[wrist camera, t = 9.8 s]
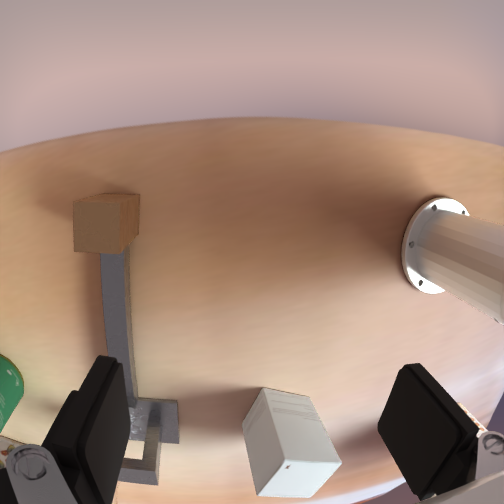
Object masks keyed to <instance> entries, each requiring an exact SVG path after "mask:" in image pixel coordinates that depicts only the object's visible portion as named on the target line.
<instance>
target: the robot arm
mask: <svg viewBox="0 0 504 504" xmlns="http://www.w3.org/2000/svg"><path fill="white" fill-rule="evenodd" d="M401 256H402V265H403V269H404V272H405V275H406V277H407V279H408V280H409V282H410V283H411V284H412V285H413V286H414V287H416V288H417V289H419V290H420V291H422V292H424V293H428V294H436V293H440V292H443V291H446V292H448V293H450V294H452V295H453V296H455V297H457V298H458V299H460V300H462V301H464V302H465V303H467V304H469V305H470V306H472V307H474V308H475V309H477V310H479V311H480V312H482V313H484V314H485V315H487V316H489V317H490V318H492V319H493V320H495V321H497V322H498V323H500V324H502V325H503V326H504V225H502V224H499V223H495V222H491V221H488V220H484V219H480V218H477V217H473V216H470V215H469V214H468V212H467V210H466V209H465V208H464V206H463V205H462V204H460V203H459V202H458V201H456V200H453V199H451V198H445V197H440V198H435V199H432V200H429V201H428V202H426V203H425V204H423V205H422V206H421V207H420V208H419V209H418V210H417V211H416V213H415V214H414V215H413V217H412V218H411V220H410V222H409V224H408V226H407V229H406V231H405V234H404V238H403V243H402V254H401ZM479 430H480V428H479V427H478V426H477V425H476V424H475V423H474V422H473V420H472V419H471V418H470V417H469V416H468V415H467V414H466V413H465V411H464V410H463V409H462V408H461V407H460V406H459V405H458V404H457V403H456V401H455V400H454V399H453V398H452V397H451V396H450V395H449V394H448V393H447V392H446V391H445V389H444V388H443V387H442V386H441V385H440V384H439V383H438V382H437V381H436V380H435V379H434V378H433V376H432V375H431V374H430V373H429V372H428V371H427V370H426V369H425V368H424V367H423V366H422V365H421V364H420V363H415V364H406V365H404V366H403V368H402V369H400V370H399V372H398V375H397V377H396V380H395V383H394V385H393V388H392V390H391V393H390V396H389V398H388V401H387V403H386V405H385V408H384V410H383V413H382V415H381V417H380V420H379V422H378V432H379V434H380V435H381V437H382V439H383V441H384V442H385V444H386V446H387V448H388V450H389V451H390V453H391V455H392V457H393V458H394V460H395V462H396V464H397V465H398V467H399V469H400V471H401V473H402V474H403V476H404V478H405V480H406V482H407V483H408V485H409V487H410V489H411V491H412V492H413V494H415V495H417V496H418V498H419V499H420V501H421V502H419V503H415V504H504V435H502V434H501V433H498V432H494V431H488V432H484V433H482V434H481V436H480V437H479V438H478V437H477V436H476V435H477V433H478V431H479ZM130 432H131V420H130V414H129V408H128V401H127V394H126V387H125V379H124V370H123V364H122V363H119V362H118V361H117V358H115V357H108V356H102V355H99V356H98V357H97V359H96V360H95V362H94V364H93V366H92V367H91V369H90V371H89V373H88V374H87V376H86V378H85V380H84V382H83V383H82V385H81V387H80V389H79V391H76V390H73V391H71V393H70V394H69V396H68V397H67V399H66V401H65V403H64V404H63V406H62V408H61V410H60V412H59V413H58V415H57V417H56V419H55V421H54V423H53V424H52V426H51V428H50V430H49V432H48V434H47V436H46V438H45V440H44V441H43V443H42V445H41V446H39V445H34V444H25V445H21V446H18V447H16V448H15V449H13V450H12V451H11V452H10V453H9V455H8V456H7V460H6V467H5V468H2V469H0V504H112V502H113V498H114V494H115V489H116V485H117V481H118V477H119V473H120V469H121V465H122V462H123V458H124V454H125V450H126V447H127V443H128V439H129V436H130ZM434 494H436V496H435V497H433V496H434ZM431 497H433V498H431ZM428 498H430V499H428ZM425 499H427V500H425ZM422 500H424V501H422Z"/></svg>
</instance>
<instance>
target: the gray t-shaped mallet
mask: <svg viewBox="0 0 504 504" xmlns="http://www.w3.org/2000/svg"><path fill="white" fill-rule="evenodd" d="M139 203H140V195H136V194H99V195H95V196H92V197H88V198H85V199H81V200H78V201H75V202H73V230H74V252H89V253H100V261H101V283H102V298H103V311H104V322H105V332H106V341H107V349H108V357H115V358H117V361H118V362H119V363H122V364H123V370H124V379H125V387H126V394H127V401H128V407H130V408H136V405H137V400H138V388H137V380H136V371H135V360H134V349H133V337H132V322H131V303H130V273H129V244H130V243H131V241H132V240H133V239H134V238H135V237H136V236H137V235H138V234H139Z"/></svg>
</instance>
